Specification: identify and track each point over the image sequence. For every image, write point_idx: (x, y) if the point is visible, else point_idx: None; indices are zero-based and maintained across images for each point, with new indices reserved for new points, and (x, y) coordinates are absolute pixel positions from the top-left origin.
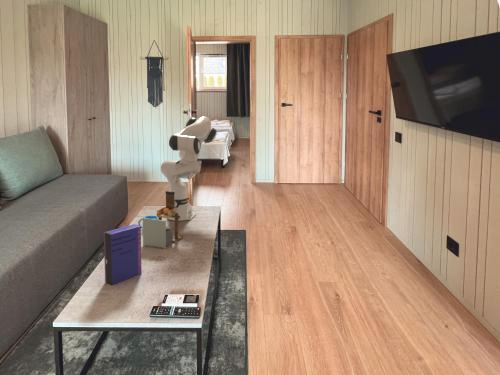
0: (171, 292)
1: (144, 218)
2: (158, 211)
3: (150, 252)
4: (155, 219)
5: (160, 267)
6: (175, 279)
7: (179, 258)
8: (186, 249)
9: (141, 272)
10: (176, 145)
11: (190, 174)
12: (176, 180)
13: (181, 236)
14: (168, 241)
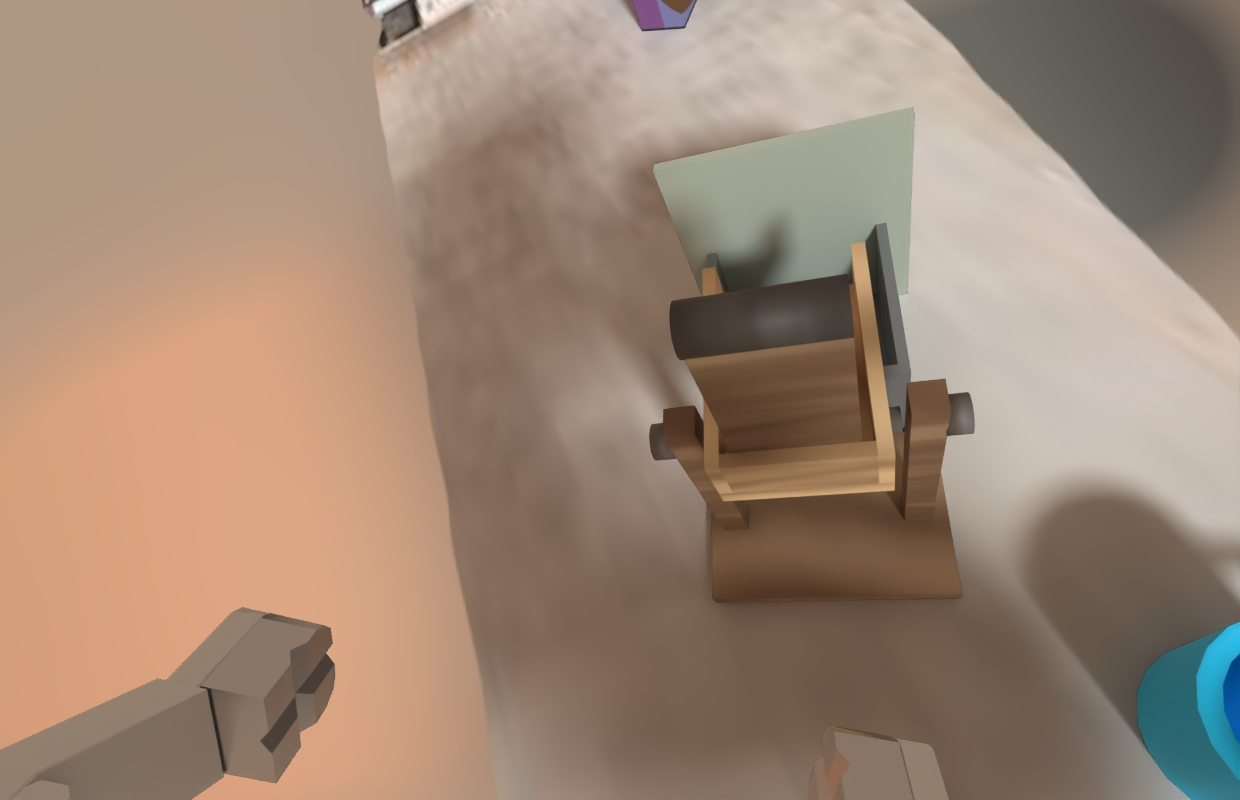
0: (467, 10)
1: (890, 114)
2: (852, 264)
3: None
4: (763, 147)
5: (599, 115)
6: (489, 76)
7: (559, 241)
8: (577, 377)
9: (640, 24)
10: None
11: (113, 702)
12: (844, 734)
13: (718, 580)
14: None
